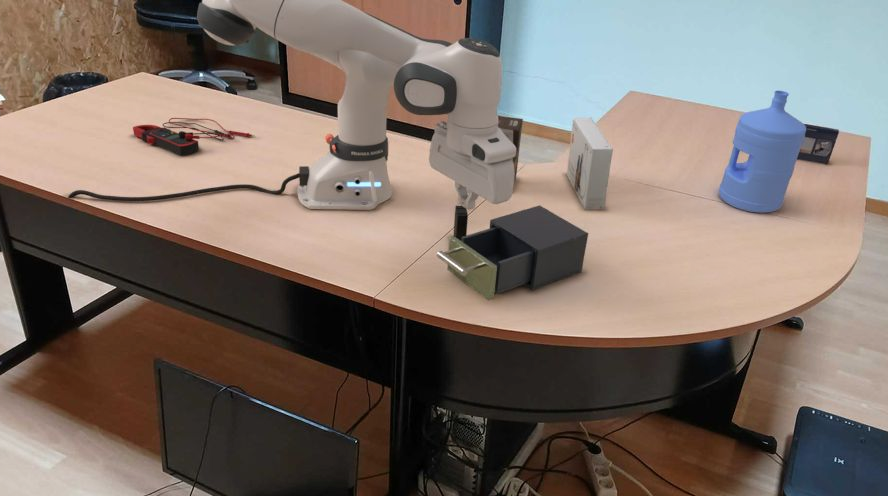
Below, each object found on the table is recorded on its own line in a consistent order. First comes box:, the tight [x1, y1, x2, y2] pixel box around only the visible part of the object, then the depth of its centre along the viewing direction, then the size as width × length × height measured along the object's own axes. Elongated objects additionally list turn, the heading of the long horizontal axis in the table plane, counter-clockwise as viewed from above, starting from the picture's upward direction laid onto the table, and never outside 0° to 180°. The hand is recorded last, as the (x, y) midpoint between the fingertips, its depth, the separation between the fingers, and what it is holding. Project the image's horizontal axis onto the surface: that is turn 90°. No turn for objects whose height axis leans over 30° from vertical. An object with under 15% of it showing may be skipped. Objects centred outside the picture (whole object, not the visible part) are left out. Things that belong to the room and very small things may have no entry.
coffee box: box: [498, 115, 524, 187], centre depth 183 cm, size 9×6×16 cm
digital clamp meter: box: [132, 117, 254, 157], centre depth 199 cm, size 23×4×25 cm
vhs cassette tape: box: [797, 123, 840, 165], centre depth 213 cm, size 18×3×10 cm, turn 68°
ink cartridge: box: [452, 204, 469, 241], centre depth 157 cm, size 5×2×8 cm, turn 5°
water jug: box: [718, 90, 806, 214], centre depth 180 cm, size 16×16×28 cm
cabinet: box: [488, 205, 589, 291], centre depth 150 cm, size 14×15×9 cm
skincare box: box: [566, 117, 614, 211], centre depth 182 cm, size 21×5×16 cm, turn 5°
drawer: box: [436, 227, 535, 302], centre depth 143 cm, size 17×13×7 cm
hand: (466, 206), depth 136 cm, fingers closed
